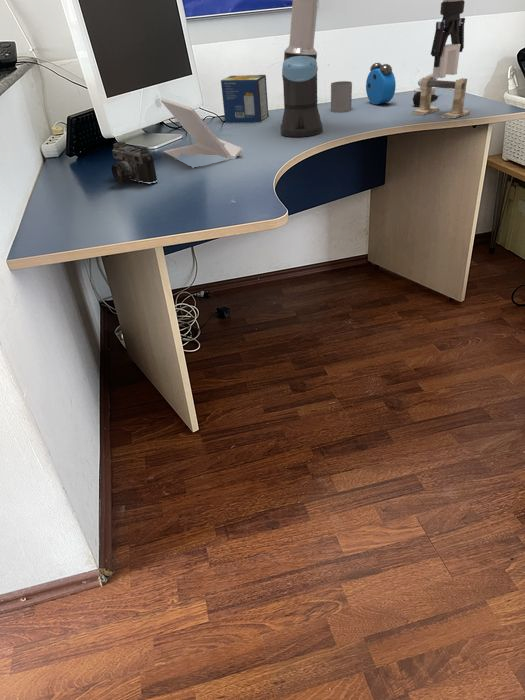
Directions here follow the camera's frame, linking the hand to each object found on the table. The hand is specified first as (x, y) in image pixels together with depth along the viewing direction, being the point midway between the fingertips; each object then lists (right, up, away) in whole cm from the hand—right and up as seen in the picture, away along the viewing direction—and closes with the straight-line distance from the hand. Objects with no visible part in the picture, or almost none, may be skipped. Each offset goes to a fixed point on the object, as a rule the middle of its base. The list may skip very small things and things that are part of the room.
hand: (444, 75), depth 189 cm
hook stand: (+1, -11, +7) cm, 13 cm away
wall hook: (+4, +10, +37) cm, 38 cm away
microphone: (+2, +2, +25) cm, 26 cm away
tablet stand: (-86, -35, -16) cm, 94 cm away
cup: (-34, -1, +26) cm, 42 cm away
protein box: (-72, -6, +24) cm, 76 cm away
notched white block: (0, 0, 0) cm, 0 cm away
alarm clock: (-17, +4, +30) cm, 35 cm away
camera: (-104, -50, -35) cm, 121 cm away
